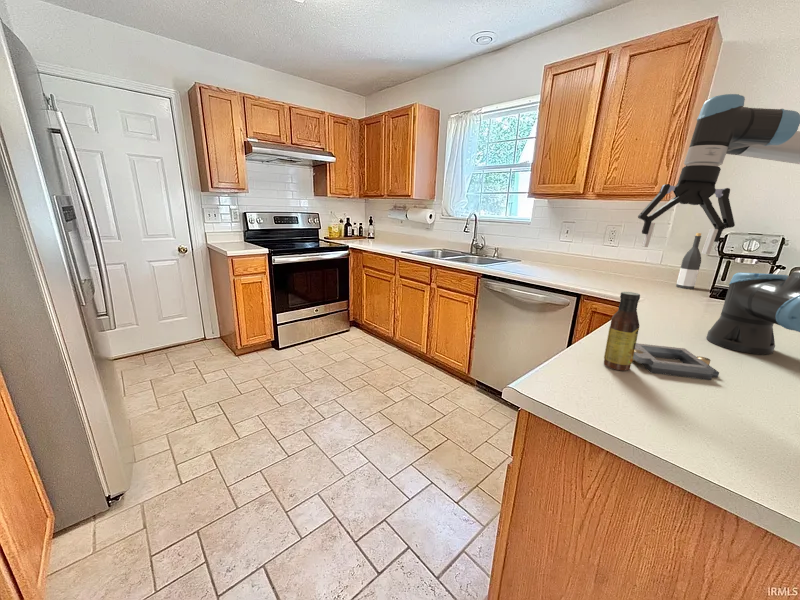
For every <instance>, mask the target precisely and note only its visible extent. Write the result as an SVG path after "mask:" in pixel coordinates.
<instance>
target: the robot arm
mask: <svg viewBox="0 0 800 600" xmlns="http://www.w3.org/2000/svg"><path fill="white" fill-rule="evenodd" d="M745 98H746V97H745V96H744V95H742V94H739V93H738V94H737V93H726V94H725V93H724V94H719V95H715V96H712V97H710V98H708V99H707V100H705V102H704V103H703V104H702V107H701V109H700V111H699V115H698V116H697V118H696V124H695V127H694V129H693V130H694V131H693V133H692V137H691V140H690V144H689V147H688V149H687V152H686V155H685V159H684V161H683V164H684V166H683V167H682V168H681V172H680V174H679V177H678V180H677V184H676V185H671V184H669V183H667V184H662V185H661V187H660V189H659V191H658V193H657V194H656V195H655V196H654V198H652V200H651V201H650V202H649V203H648V204H647V205H646V206H645V208H644V209H643V210H642V211H641V212H640V213H639V215H638V216H637V218H638V219H640V220H642V221H643V222H644V223H643V227H642V229H641V234H642V235H644V238H643V242H642V245H641V247H644V248H649V244H650V242H651V237H652V235H653V231H654V227H655V224H656V223H655V222H653V221H655V220H656V219H658V217H660V216H662V215H663V214H664V213H665V212H668V211H669V210H670V209H671V208H674V207H675V206H676V205H677V204H680V205H690V206H698V205H699V206H700V208H702V210H703V212H704V213H705V215H706V217H707V218H708V220H709V222H710V223H711V225H712V226H713V228H709V230H708V233H707V237H706V239H705V241H704V245H703V246H702V247H703V248H702V251H701V252H700V254H701V255H706V256H707V255H708V256H710V254H711V251H712V248H713V246H714V243H718V242H719V241H720V238H721V236H722V233H723V231H724V230H726V229H730V228H734V227H735V223H736V222H735V220H734V216H733V211H732V207H731V202H730V199H729V198H730V195H731V194H730V192H731V189H730V187H726V188H716V184H717V183H718V182H717V181H718V178H719V175H720V174H721V173H720V172H721V167H720V166H722V165H723V164H724V160H725V158H726V155H734V156H741V157H747V158H748V157H749V158H753V159H754V158H755V159H761V160H768V161H773V162H774V161H775V162H781V163H789V164H795V165H796V164H797V165H800V130H799V127H800V112H798V111H795V110H793V109H792V110H791V109H790V110H789V109H784V108H780V109H779V108H762V107H761V108H760V107H748V106H747V107H746V106H745V101H746V99H745ZM671 192H673V194H674V195H675V196H674V197H673V198H671V199H670V200H669V201H668V202H666V203H665V204H664V205H662V206H661V207H659V208H658V209H657V210H655V211H654V209H655V208H656V207H657V205H658V204H659V203H660V202H661V201H662V200H663V199H664V198H665V196H666V195H667V194H670V193H671ZM713 195H715V197H716V198H717V203H718V206H719V210H720V215H719V213H718V212H717V211H716V209H715V207H714V205H713V202H712V201H711V200H710V197H712V196H713ZM652 211H654V212H652ZM651 212H652V213H651ZM650 213H651V214H650ZM649 214H650V215H649ZM720 216H721V217H720ZM728 285H729V286H728V289H727V292H726V296H725V299H724V301H723V302H724V303H723V306H722V309H721V312H720V316H719V318H718V319H717V320H716V322H715V323H714V324H713V325H712V326H711V328H710V329H709V330H708V331H707V334H706V336H705V337H706V340H707V341H708V342H710V343H712V344H714V345H717V346H719V347H722V348H725V349H729V350H732V351H737V352H742V353H746V354H747V353H748V354H755V355H772V354H774V350H775V347H776V343H775V336H774V334H775V333H774V324H775V325H776V326H780V327H783V328H784V329H786V330H789V331H795V332H798V333H800V269H797V270H795V271H793V272H792V273H791V274H789V275H787V274H780V273H779V274H777V273H776V274H775V273H759V272H758V273H757V272H740V271H739V272H736V273H735V274H733V275H732V278H731V279H730V282H729V283H728Z"/></svg>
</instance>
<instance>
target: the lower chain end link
mask: <svg viewBox="0 0 800 600" xmlns="http://www.w3.org/2000/svg"><path fill="white" fill-rule="evenodd" d="M647 352H649V353H650V354H651V355H652V356H653V357H654V358H657V359H658V358H660V359H667V360H678V361H680V363H685V364H692V363H690V362H689V361H688V360H686V359H685V358H684V357H682V356H681V355H677V354H668V353H659V352H650V351H647ZM696 357H697V358H698V359H701V360H702V361H703V362H705V363H706V364H708V365H709V366H710V363H711V361H712V360H711V359H710V358H707V357H705V356H700V355H699V356H696ZM640 365H642V366H643V368H644V367H645V369H646V370H648V372H650V374H657V375H665V376H673V377H681V378H690V379H697V380H698V379H699V380H707V381H711V380H712V378H714V379H717V378H719V375H720V372H719V371H718V370H717V369H716V368H714V367H712V368H713V369H714V372H713V375H711V374H702V373H694V372H686V371H677V370H669V369H661V368H652V367H651V366H650V365H649V364H644V363H641V364H640Z"/></svg>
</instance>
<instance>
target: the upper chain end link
mask: <svg viewBox="0 0 800 600" xmlns="http://www.w3.org/2000/svg"><path fill="white" fill-rule="evenodd" d="M647 351H650V352H659V353H668V354H677V355H681V356H682V357H684V358H685V359H686V360H688V361H689V362H690V363H692V364H685V363H682V362H674V361H666V360H658V358H656V357H653V356H652V355H651V354H650V353H649V352H647ZM641 363H644V364H649V365H650V366H651V367H652V368H661V369H669V370H677V371H686V372H694V373H702V374H711V375H713V372H714V369H715V368H714V367H712V366H711V365H710V364H709V365H708V364H706V363H705V362H703V361H702V360H701V359H698V358H697V356H696V355H695V354H694V353H692V352H691V351H689V350H688V349H686V348H683V347H677V346H676V347H675V346H664V345H657V344H655V345H654V344H646V343H645V344H644V343H639V342H638V343H637V342H636V346H635V350H634V355H633V360H632V364H637V365H639V364H640V365H642V364H641ZM713 368H714V369H713Z"/></svg>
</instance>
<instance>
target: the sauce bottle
mask: <svg viewBox="0 0 800 600" xmlns="http://www.w3.org/2000/svg"><path fill="white" fill-rule="evenodd" d="M619 298H620V300H619V306H618V310H617V311H616V312H615V313H614V314H612V317H611V321H610V325H609V328H608V334H607V339H606V344H605V350H604V356H603V364H604V365H605V366H606V367H607V368H609V369H612V370H617V371H622V372H626V371H629V370H630V369H631V366H632V364H633V362H632V360H633V355H634V350H635V346H636V343H637V339H638V336H639V331H640V321H639V317H638V309H637V308H638V303H639V301H640V298H641V294H640V293H638V292H633V291H621V292H620V296H619Z"/></svg>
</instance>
